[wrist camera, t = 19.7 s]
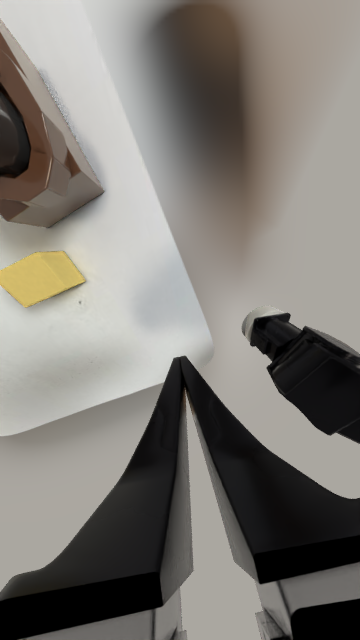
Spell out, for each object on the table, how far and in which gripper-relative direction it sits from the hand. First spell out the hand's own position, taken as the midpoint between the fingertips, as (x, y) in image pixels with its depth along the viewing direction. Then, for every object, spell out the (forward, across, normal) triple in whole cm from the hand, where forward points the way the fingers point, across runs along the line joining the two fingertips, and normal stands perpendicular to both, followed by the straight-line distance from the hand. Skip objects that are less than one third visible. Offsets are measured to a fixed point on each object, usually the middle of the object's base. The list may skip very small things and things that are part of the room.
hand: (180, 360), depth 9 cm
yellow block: (+14, +15, -6) cm, 21 cm away
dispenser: (+14, +10, -16) cm, 23 cm away
